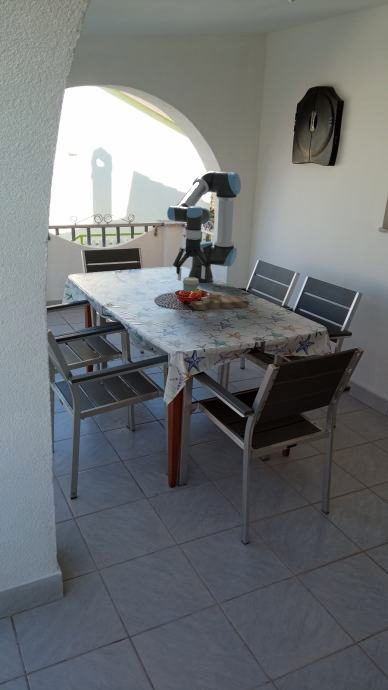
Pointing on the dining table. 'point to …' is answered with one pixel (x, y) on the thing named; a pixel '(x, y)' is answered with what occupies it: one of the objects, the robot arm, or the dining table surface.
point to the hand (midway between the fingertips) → (191, 279)
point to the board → (220, 303)
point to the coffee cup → (190, 284)
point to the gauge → (213, 297)
